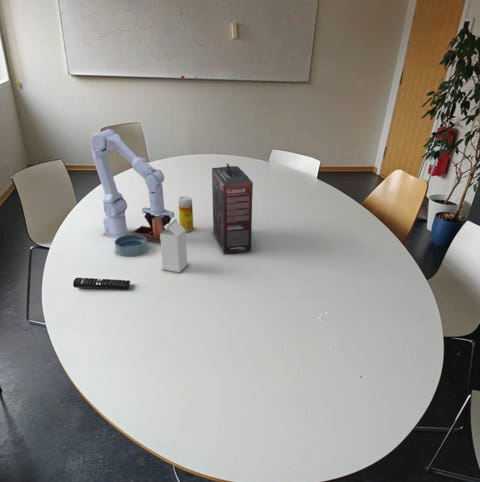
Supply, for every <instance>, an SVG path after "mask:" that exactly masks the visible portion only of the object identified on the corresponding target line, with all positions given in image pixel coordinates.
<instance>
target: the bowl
mask: <svg viewBox="0 0 480 482" xmlns="http://www.w3.org/2000/svg"><path fill="white" fill-rule="evenodd" d="M114 249H115V253H116V254H117V255H119V256H120V257H131V258H132V257H138V256H141V255H143V254H145V253H146V252H147V251H148V249H149V247H148V242H147V239H146V238H145V237H144V236H141V235H132V234H127V235H125V236H121V237H116V239H115V240H114Z"/></svg>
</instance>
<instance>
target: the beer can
mask: <svg viewBox="0 0 480 482" xmlns="http://www.w3.org/2000/svg"><path fill="white" fill-rule="evenodd" d="M193 211H194V210H193V199H192V197H190V196H179V198H178V216H179V217H178V218H179V224H180V225H181V226H182V227H183V228H184V229H185V233H189V232H192V231H193V229H194V213H193Z"/></svg>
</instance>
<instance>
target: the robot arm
mask: <svg viewBox="0 0 480 482" xmlns="http://www.w3.org/2000/svg"><path fill="white" fill-rule="evenodd" d="M89 142H90V145H91V157H92V159H93V162H94V165H95V168H96V171H97V175H98V178H99V181H100V183H101V187H102V189H103V193H104V196H103V199H102V203H103V212H104V216H103V227H104V233H103V235H106V236H112V237H116V238H119V237H121V236H125V235H129V234H130V233H132V230H130V229H128V226H127V219H126V211H127V209H128V203H127V201H126V199H125V198H124V196H123V194H122V193H121V192H119V191H118V188H117V185H116V182H115V179H114V178H115V177H114V175H113V171H112V168H111V167H110V163H109V159H108V157H107V155H108V153H109V151H115V152H117V153H118V154H119V155H121V156H122V157H123V158H124V159H125V160H127V161H128V162H129V163H131V167H132V169H133V170H134V171H135V172H136V173H137V174H138V175H139V176H140V177H142V178H143V179H144V184H145V185H146V186H147V190H148V196H149V197H148V199H149V207H143V208H141V213H142V214H145V215H144V219H145V220H146V222H147V223H148V226H149V227H150V228H151V230H152V231H153V228H152V217H154V216H164V217H163V218H161V220H162V223H163V228H164V226H165V225H167V224H168V223H171V220H172V219H173V218H175V212H174V211H171V210H168V209H165V202H164V189H163V183H164V181H165V175H164V173H163V172H162V170H161V169H156V168H155V167H153V166H152V165H151V164H150V163H149V162H147V159H146V158H145V157H142V156H137V155H136V154H135V153H134V152H133V151H132V150H131V149H130V147H128V146H127V145H126V143H124V142H123V141H122V139H121V136H120V135H119V134H117V132H116V131H115V130H113V129H111V128H107V129H105V130H103V131H99V132H95V133H93V134H92V135H91V137H90V139H89ZM164 230H165V228H164Z"/></svg>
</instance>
